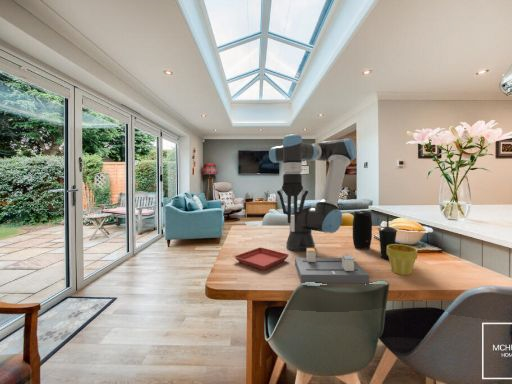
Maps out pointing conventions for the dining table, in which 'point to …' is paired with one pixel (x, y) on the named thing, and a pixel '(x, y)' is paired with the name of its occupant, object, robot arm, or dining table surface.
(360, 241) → the portable speaker
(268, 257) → the plant saucer
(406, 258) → the plant pot
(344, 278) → the fader board
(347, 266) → the fader front
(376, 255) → the dining table surface
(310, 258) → the block
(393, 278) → the dining table surface
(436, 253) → the dining table surface
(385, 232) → the black bottle
